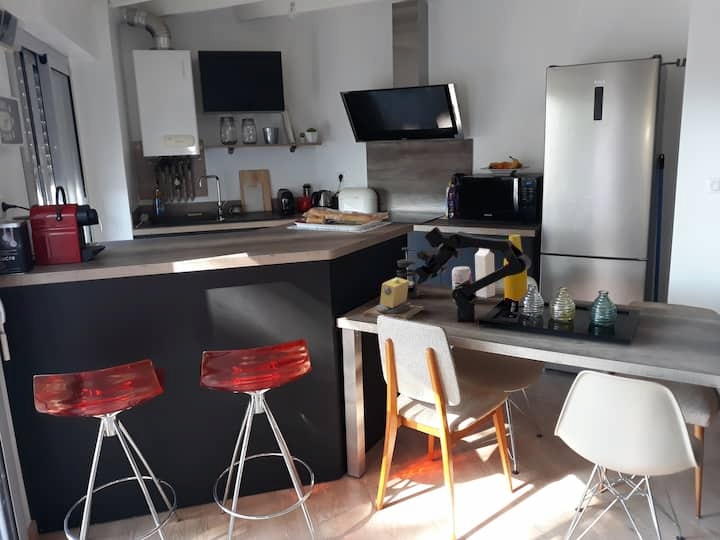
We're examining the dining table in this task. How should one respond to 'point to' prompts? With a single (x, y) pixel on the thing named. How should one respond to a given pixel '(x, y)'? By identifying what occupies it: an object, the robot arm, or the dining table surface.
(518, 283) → the yellow bottle
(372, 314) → the level base
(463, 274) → the supplement can
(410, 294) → the french press
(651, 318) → the dining table surface
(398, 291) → the yellow boxy piece
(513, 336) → the dining table surface
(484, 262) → the milk
